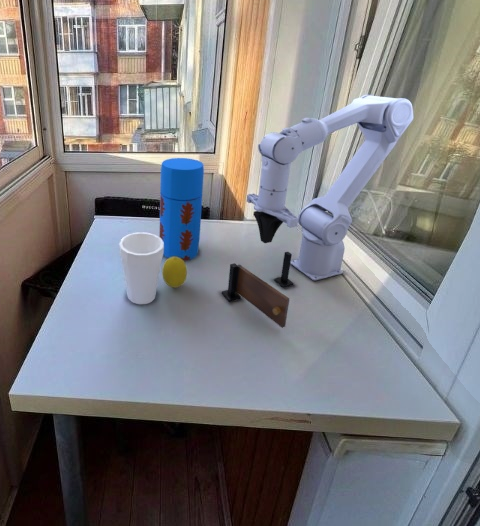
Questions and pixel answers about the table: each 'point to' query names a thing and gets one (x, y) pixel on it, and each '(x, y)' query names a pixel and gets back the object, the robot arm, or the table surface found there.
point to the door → (262, 296)
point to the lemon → (174, 272)
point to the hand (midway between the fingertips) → (266, 241)
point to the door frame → (282, 280)
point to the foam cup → (141, 265)
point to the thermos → (181, 206)
